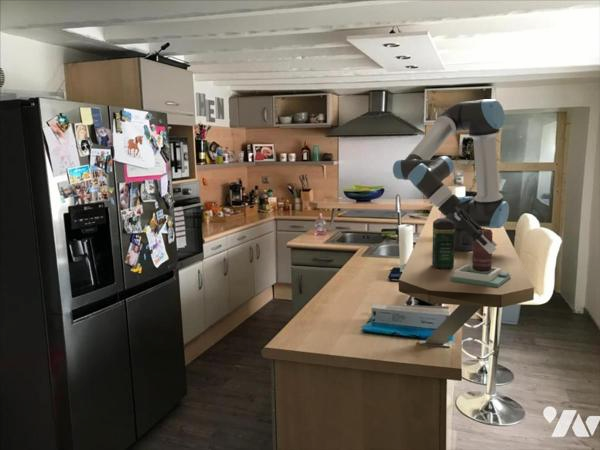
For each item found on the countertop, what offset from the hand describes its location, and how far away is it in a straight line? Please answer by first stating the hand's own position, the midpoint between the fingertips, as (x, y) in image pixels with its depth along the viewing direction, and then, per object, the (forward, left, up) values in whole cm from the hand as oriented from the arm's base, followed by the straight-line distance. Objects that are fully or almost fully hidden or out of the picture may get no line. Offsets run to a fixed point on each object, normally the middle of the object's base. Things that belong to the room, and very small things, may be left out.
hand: (493, 249), depth 167 cm
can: (+1, -3, -8) cm, 8 cm away
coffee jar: (-10, -22, -11) cm, 26 cm away
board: (+1, -4, -11) cm, 11 cm away
